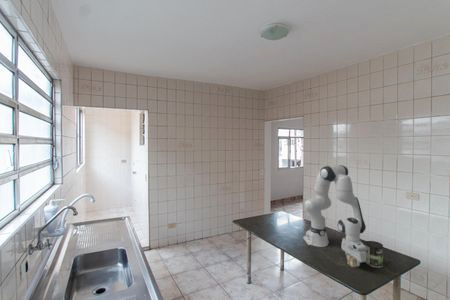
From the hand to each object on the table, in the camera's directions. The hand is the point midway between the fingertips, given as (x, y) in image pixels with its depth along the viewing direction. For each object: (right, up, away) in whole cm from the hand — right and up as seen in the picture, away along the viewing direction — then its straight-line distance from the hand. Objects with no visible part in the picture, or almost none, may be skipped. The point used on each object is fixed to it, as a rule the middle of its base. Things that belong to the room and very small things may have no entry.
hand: (353, 261), depth 164 cm
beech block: (0, -2, 0) cm, 2 cm away
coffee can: (+15, -2, +1) cm, 15 cm away
